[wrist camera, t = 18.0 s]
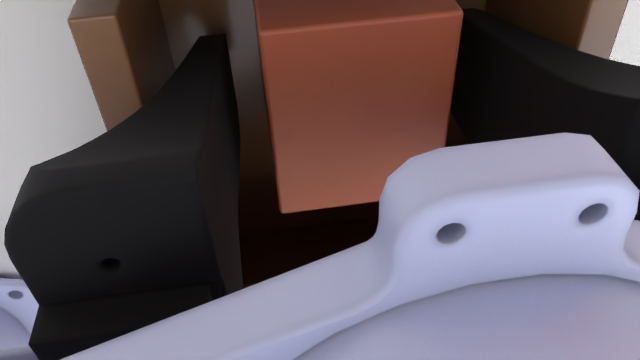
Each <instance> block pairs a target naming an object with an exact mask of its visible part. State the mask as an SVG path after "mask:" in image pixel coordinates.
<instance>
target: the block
mask: <svg viewBox="0 0 640 360" xmlns="http://www.w3.org/2000/svg"><path fill="white" fill-rule="evenodd" d="M253 5H254V13H255V21H256V29H257V37H258V45H259V53H260V61H261V69H262V77H263V85H264V93H265V101H266V109H267V117H268V125H269V133H270V140H271V148H272V156H273V164H274V172H275V179H276V187H277V195H278V203H279V210H280V211H281V213H284V214H285V213H292V212H300V211H308V210H315V209H323V208H331V207H339V206H346V205H354V204H362V203H369V202H377V201H379V199H380V196H381V194H382V191H383V188H384V186H385V183H386V181H387V178H388V176H390V175H391V174H392V173H393V172H394V171H395V170H397V169H398V168H399V167H400V166H401V165H402V164H404V163H405V162H406V161H407V160H408V159H409V158H411V157H414V156H417V155H420V154H423V153H426V152H429V151H432V150H435V149H438V148H444V147H445V145H446V137H447V130H448V123H449V115H450V108H451V101H452V93H453V86H454V79H455V72H456V64H457V57H458V50H459V42H460V35H461V28H462V20H463V10H462V9H461V7H460V6H459V5H458V3H457V2H456V1H455V0H253Z"/></svg>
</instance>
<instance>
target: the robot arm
mask: <svg viewBox="0 0 640 360" xmlns="http://www.w3.org/2000/svg"><path fill="white" fill-rule="evenodd" d="M462 10H463V20H462V28H461V35H460V42H459V50H458V57H457V64H456V72H455V79H454V86H453V93H452V101H451V108H450V111H451V114H452V116H453V117H454V119H455V121H456V123H457V125H458V127H459V128H460V130H461V132H462V134H463V135H464V137H465V139H466V141H467V142H468V145H460V146H452V147H444V148H438V149H435V150H432V151H429V152H426V153H423V154H420V155H417V156H414V157H411V158H409V159H408V160H407V161H406V162H405V163H404V164H402V165H401V166H400V167H399V168H398V169H397V170H395V171H394V172H393V173H392V174H391V175H390V176H388V178H387V181H386V183H385V186H384V188H383V191H382V194H381V196H380V199H379V221H378V226H377V231H376V233H375V234H374V236H373V237H372V238H370V239H369V240H368V241H366V242H364V243H361V244H358V245H356V246H353V247H351V248H348V249H345V250H343V251H340V252H338V253H335V254H332V255H330V256H327V257H325V258H322V259H320V260H317V261H314V262H312V263H309V264H307V265H304V266H301V267H299V268H296V269H294V270H291V271H288V272H286V273H283V274H281V275H278V276H275V277H273V278H270V279H268V280H265V281H262V282H260V283H257V284H255V285H252V286H249V287H247V288H244V289H243V279H242V267H241V255H240V242H239V228H238V190H239V167H240V140H241V138H240V126H239V116H238V106H237V100H236V93H235V87H234V81H233V75H232V69H231V63H230V57H229V51H228V45H227V39H226V34H216V35H206V36H200V37H199V38H198V39H197V40H196V42H195V43H194V45H193V46H192V48H191V49H190V51H189V52H188V54H187V55H186V57H185V58H184V60H183V61H182V63H181V64H180V65H179V67H178V68H177V69H176V71H175V72H174V73H173V75H172V76H171V77H170V78H169V80H168V81H167V82H166V83H165V84H164V85H163V86H162V88H161V89H160V90H159V91H158V92H157V93H156V94H155V95H154V96H153V97H152V98H151V99H150V100H149V101H148V102H147V103H145V104H144V105H143V106H142V107H141V108H140V109H138V110H137V111H136V112H135V113H133V114H132V115H131V116H129V117H128V118H126V119H125V120H124V121H122V122H121V123H119V124H118V125H116V126H115V127H113V128H112V129H111V130H109V131H107V132H106V133H104V134H102V135H101V136H99V137H97V138H95V139H94V140H92V141H90V142H88V143H86V144H84V145H82V146H80V147H78V148H76V149H74V150H72V151H70V152H67V153H65V154H62V155H60V156H57V157H55V158H52V159H50V160H48V161H45V162H43V163H40V164H37V165H35V166H32V167H31V168H30V170H29V172H28V174H27V176H26V178H25V180H24V182H23V184H22V186H21V188H20V191H19V193H18V196H17V198H16V201H15V204H14V206H13V209H12V212H11V214H10V217H9V220H8V222H7V225H6V228H5V240H4V245H5V247H6V250H7V252H8V255H9V257H10V260H11V261H12V263H13V264H14V266H15V268H16V269H17V271H18V272H19V274H20V276H21V277H22V279H23V280H19V279H6V278H0V360H640V66H635V65H630V64H625V63H621V62H617V61H613V60H609V59H605V58H602V57H599V56H595V55H592V54H588V53H585V52H582V51H579V50H576V49H573V48H570V47H567V46H565V45H562V44H560V43H557V42H554V41H552V40H549V39H547V38H544V37H542V36H540V35H537V34H535V33H533V32H530V31H528V30H526V29H524V28H521V27H519V26H517V25H515V24H513V23H510V22H508V21H506V20H504V19H502V18H499V17H497V16H495V15H492V14H490V13H488V12H485V11H482V10H479V9H476V8H466V9H462Z"/></svg>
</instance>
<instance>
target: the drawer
mask: <svg viewBox="0 0 640 360" xmlns="http://www.w3.org/2000/svg"><path fill="white" fill-rule="evenodd" d="M455 1H456V2H457V3H458V5H459V6H460V7H461V9H466V8H476V9H479V10H482V11H485V12H488V13H490V14H492V15H495V16H497V17H499V18H502V19H504V20H506V21H508V22H510V23H513V24H515V25H517V26H519V27H521V28H524V29H526V30H528V31H530V32H533V33H535V34H537V35H540V36H542V37H544V38H547V39H549V40H552V41H554V42H557V43H560V44H562V45H565V46H567V47H570V48H573V49H576V50H579V51H582V52H585V53H588V54H592V55H595V56H599V57H602V58H605V59H609V56H610V53H611V50H612V48H613V45H614V42H615V39H616V36H617V33H618V30H619V27H620V24H621V21H622V18H623V15H624V12H625V9H626V6H627V3H628V0H455ZM68 24H69V27H70V29H71V32H72V35H73V38H74V41H75V43H76V46H77V49H78V52H79V54H80V57H81V60H82V63H83V65H84V68H85V71H86V74H87V76H88V79H89V82H90V85H91V87H92V90H93V93H94V96H95V99H96V101H97V104H98V107H99V110H100V112H101V115H102V118H103V121H104V123H105V126H106V129H107V131H109V130H111V129H112V128H113V127H115V126H116V125H118V124H119V123H121V122H122V121H124V120H125V119H126V118H128V117H129V116H131V115H132V114H133V113H135V112H136V111H137V110H138V109H140V108H141V107H142V106H143V105H144V104H145V103H147V102H148V101H149V100H150V99H151V98H152V97H153V96H154V95H155V94H156V93H157V92H158V91H159V90H160V89H161V88H162V86H163V85H164V84H165V83H166V82H167V81H168V80H169V78H170V77H171V76H172V75H173V73H174V72H175V71H176V69H177V68H178V67H179V65H180V64H181V63H182V61H183V60H184V58H185V57H186V55H187V54H188V52H189V51H190V49H191V48H192V46H193V45H194V43H195V42H196V40H197V39H198V38H199V37H200V36H206V35H216V34H226V39H227V45H228V51H229V57H230V63H231V69H232V75H233V81H234V87H235V93H236V100H237V106H238V116H239V126H240V138H241V140H240V167H239V190H238V228H239V242H240V255H241V267H242V279H243V284H248V283H255V282H262V281H265V280H268V279H270V278H273V277H275V276H278V275H281V274H283V273H286V272H288V271H291V270H294V269H296V268H299V267H301V266H304V265H307V264H309V263H312V262H314V261H317V260H320V259H322V258H325V257H327V256H330V255H332V254H335V253H338V252H340V251H343V250H345V249H348V248H351V247H353V246H356V245H358V244H361V243H364V242H366V241H368V240H369V239H370V238H372V237H373V236H374V234H375V233H376V231H377V226H378V221H379V201H377V202H369V203H362V204H354V205H346V206H339V207H331V208H323V209H315V210H308V211H300V212H292V213H285V214H284V213H281V211H280V210H279V203H278V195H277V187H276V179H275V172H274V164H273V156H272V148H271V140H270V133H269V125H268V117H267V109H266V101H265V93H264V85H263V77H262V69H261V61H260V53H259V45H258V37H257V29H256V21H255V13H254V5H253V0H76V1H75V4H74V6H73V8H72V11H71V13H70V15H69V17H68ZM460 145H468V142H467V141H466V139H465V137H464V135H463V134H462V132H461V130H460V128H459V127H458V125H457V123H456V121H455V119H454V117H453V116H452V114H451V111H450V115H449V123H448V130H447V137H446V145H445V147H452V146H460Z"/></svg>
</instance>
